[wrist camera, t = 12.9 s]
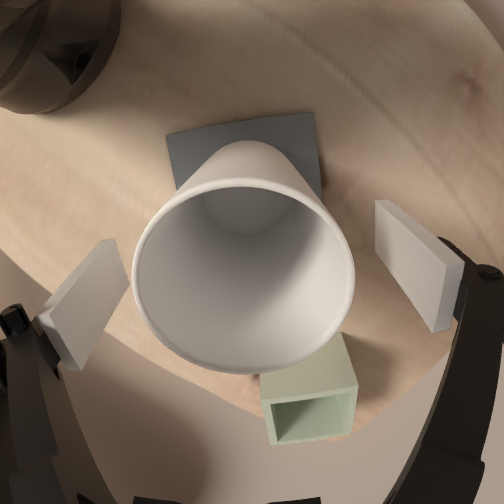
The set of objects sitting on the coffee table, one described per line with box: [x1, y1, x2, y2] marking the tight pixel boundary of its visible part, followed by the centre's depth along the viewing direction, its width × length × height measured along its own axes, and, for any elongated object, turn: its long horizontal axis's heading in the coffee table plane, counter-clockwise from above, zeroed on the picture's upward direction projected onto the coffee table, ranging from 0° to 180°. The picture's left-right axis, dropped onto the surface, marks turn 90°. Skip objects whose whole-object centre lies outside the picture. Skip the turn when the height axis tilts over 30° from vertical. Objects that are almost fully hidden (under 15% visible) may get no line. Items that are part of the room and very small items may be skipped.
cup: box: [132, 140, 355, 375], centre depth 18 cm, size 8×8×16 cm
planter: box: [260, 332, 359, 446], centre depth 31 cm, size 9×9×8 cm
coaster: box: [166, 112, 323, 203], centre depth 26 cm, size 12×12×1 cm
